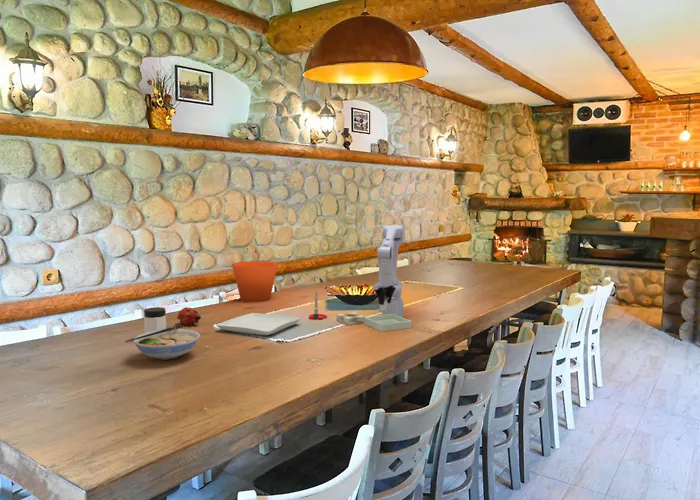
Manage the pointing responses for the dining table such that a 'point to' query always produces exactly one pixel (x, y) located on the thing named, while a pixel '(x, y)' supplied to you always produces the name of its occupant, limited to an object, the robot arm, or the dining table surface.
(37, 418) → the dining table surface
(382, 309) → the steel pin
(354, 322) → the pin block
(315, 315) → the tow hook
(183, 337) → the ramen bowl
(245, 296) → the flowerpot
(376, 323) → the tray
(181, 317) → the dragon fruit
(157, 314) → the jar
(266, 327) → the square plate
